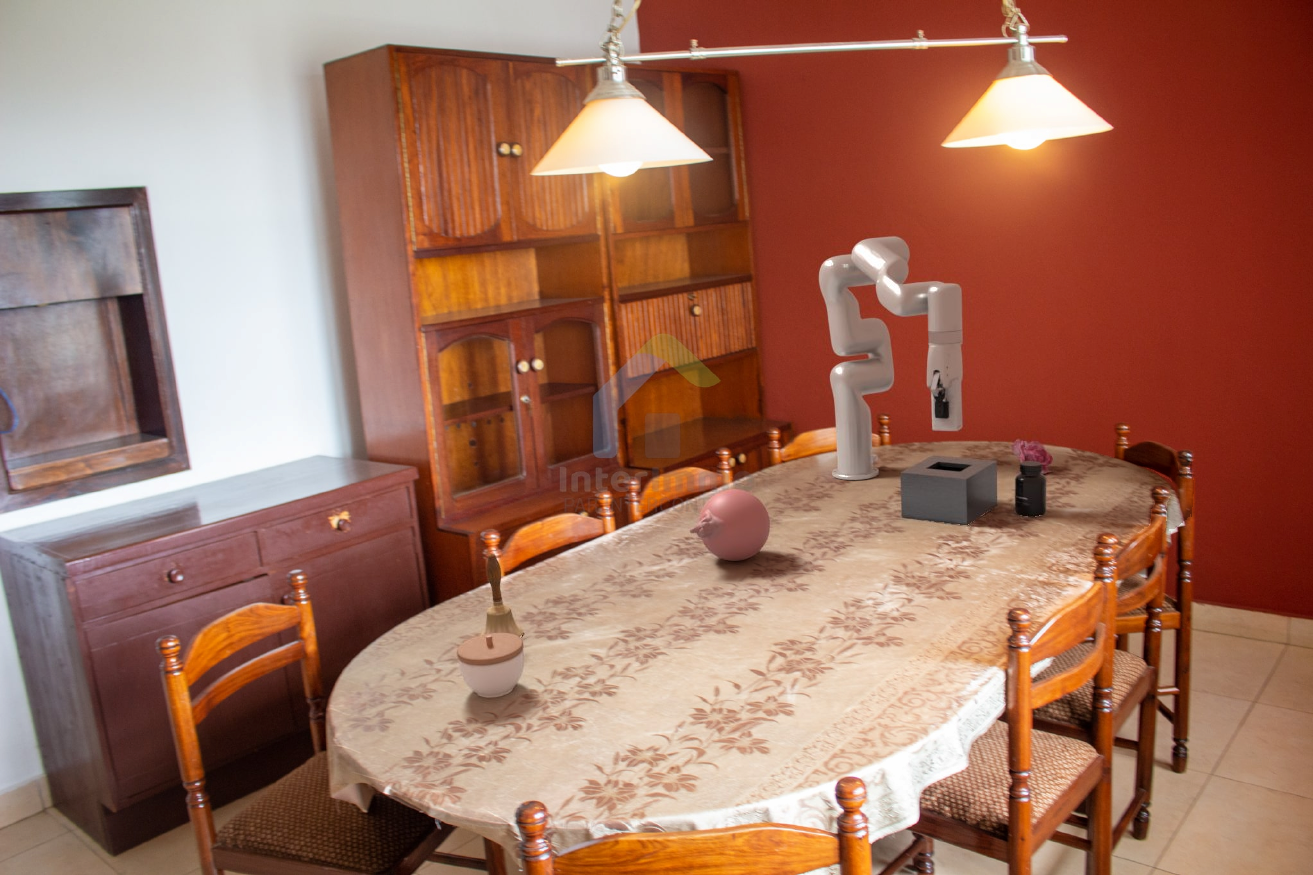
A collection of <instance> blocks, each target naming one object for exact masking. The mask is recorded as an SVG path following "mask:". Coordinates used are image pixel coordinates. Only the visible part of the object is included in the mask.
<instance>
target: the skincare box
mask: <svg viewBox="0 0 1313 875" xmlns="http://www.w3.org/2000/svg"><path fill="white" fill-rule="evenodd" d="M939 388H943V385H939ZM941 392H942V394H943V391H941ZM930 394H931V395H930V396H931V397H930V398H931V424H932V428H931V429H932V431H939V432H940V431H941V432H946V431H947V432H958V431H959V430H961V429H962V428H963V404H962V403H963V401H962V400H963V399H962V397H963V395H962V381H961V378H957V379H955V380H952V385H951V387H950V388H948V394H947V401H949V418H947V419H942V418H935V401H934V396H933V394H932V393H931V392H930Z"/></svg>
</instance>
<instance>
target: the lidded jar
mask: <svg viewBox="0 0 1313 875" xmlns="http://www.w3.org/2000/svg"><path fill="white" fill-rule="evenodd" d="M456 656H457V659H458V664H459V671H460V673H461V676H462V679H463V681H464V682H465V685H466V686H467V687H468V688H469V689H470V690H472V691H473V692H475V693H476V695H477V696H478V697H481V698H486V699H491V698H493V699H494V698H500V697H503V696H505V695H508V694H509V693H511V692H512V691H514V689H515V686H516V685H517V684H518V682H519V681H520V679H521V677H522V675H523V671H524V666H525V664H524V662H525V654H524V640H523V639H522V637H521V638H520V637H519V636H517V635H514V634H509V633H491V634H485V635H480V634H479V635H477V636H473V637H472V638H468V639H467V640H465V641H464V642H462V643H461V644H460V645H459V646H458V648H457V649H456ZM513 688H514V689H513Z"/></svg>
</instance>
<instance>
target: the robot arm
mask: <svg viewBox="0 0 1313 875" xmlns="http://www.w3.org/2000/svg"><path fill="white" fill-rule="evenodd" d="M910 256H911V255H910V248H909V246H908V244H907V243H906V241H905V240H904V239H903V238H901V237H898V236H894V235H893V236H883V237H872V238H866V239H863V240H860V241H859V242H857V243H856V244H855V245H854V247H853V248H852V250H851V253H849V254H841V255H836V256H832V257H830V258H828V259H826V260H825V261H823V263H822V264H821V266H820V268H819V273H818V283H819V288H820V292H821V294H822V297H823V299H824V302H825V306H826V310H827V319H828V327H829V328H828V329H829V334H830V343H831V348H832V350H833V353H834V354H836V355H837V356H839V357H851V356H860V355H867V356H868V358H865V359H857V360H856V359H855V360H848V361H843V362H839V363H838V364H836V365H835V366H834V367H833V368H832V369H831V371H830V374H829V380H830V388H831V391H832V395H833V401H834V415H835V416H834V417H835V418H834V419H835V435H836V438H835V440H836V455H837V456H836V459H837V467H836V468H834V469H833V470H832V471H831V472H832V474H831V475H832V476H833V477H834V478H836V479H838V480H845V481H847V480H848V481H854V480H855V481H857V480H861V481H862V480H867V479H872V478H874V477H877V476H878V475H879V474H880V473H879V468H878V467H875V466H873V464H874V462H876V461H878V459H879V457H878V455H877V453H876V454H875V453H874V454H873V437H872V435H873V432H872V413H871V408H870V407H869V405H868V403H867V402H866V400H864V398H863V396H865V395H870V394H876V393H877V394H878V393H884V392H886V391H889V390H890V389H891V388H892V387H893V384H894V381H895V369H894V360H893V350H892V344H891V336H890V332H889V329H888V326H887V325H886V323H885V322H884V321H883V320H882V319H880V318H877V317H869V318H861V313H860V305H859V304H860V303H859V301H858V299H857V298H856V297H855V295H854V294H853V292H852V291H850V290H849V288H852V287H862V286H872V285H875V290H876V295H877V300H878V301H879V303H880V304H881V305H882V307H884V308H885V309H887V311H889V312H890V313H892V314H893V315H895V316H897V317H903V318H904V317H913V316H914V317H915V316H921V315H927V332H928V333H927V334H928V335H927V336H928V351H927V364H926V365H927V367H926V386H927V388H928V389H929V390H930V394H931V393H932V394H933V396H934V401H935V418H942V419H947V418H949V401H947V394H948V388H950V387H951V385H952V380H955V379H957V378H961V382H962V381H963V378H964V377H963V373H964V370H963V355H962V354H963V352H962V346H961V345H963V300H962V299H963V298H962V297H963V296H962V293H963V292H962V287H961V286H960V285H959V284H958V283H952V282H951V283H950V282H948V283H946V282H942V281H939V280H936V281H934V280H933V281H923V282H921V281H920V282H913V283H912V282H911V283H905V282H906V280H907V278H908V275H909V270H910V269H909V265H908V262H909V260H910ZM939 385H943V388H939ZM941 391H943V394H942V392H941Z"/></svg>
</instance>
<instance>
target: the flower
mask: <svg viewBox="0 0 1313 875" xmlns="http://www.w3.org/2000/svg"><path fill="white" fill-rule="evenodd" d="M1044 446H1045V445H1043V444H1041V443H1040V442H1039V441H1037V440H1031V441H1030V442H1028V441H1027V440H1021V439H1020V438H1017V439H1016V440H1015V441H1014V443H1013V444H1012V445H1011V447H1010V449H1011V450H1012V452H1013V455H1015V456H1017V457H1018V458H1019V462H1020V463H1021V462H1024V461H1036V462H1040V463H1042V472H1041V474H1043V475H1044V474H1047V473H1052V470H1050V469H1048V468H1047V467H1049V466H1050V465H1052V462H1053V461H1054V458H1053V457H1052V454H1051V453H1050V452H1048V451H1047V450H1046V449H1045V447H1044ZM1018 467H1020V464H1019V465H1018ZM1016 468H1017V466H1016V467H1013V468H1012V469H1013V470H1014V469H1016ZM1049 470H1050V471H1049Z"/></svg>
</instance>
